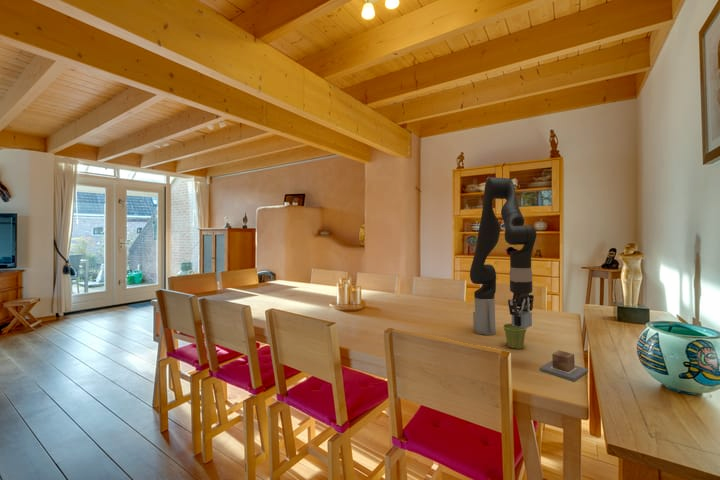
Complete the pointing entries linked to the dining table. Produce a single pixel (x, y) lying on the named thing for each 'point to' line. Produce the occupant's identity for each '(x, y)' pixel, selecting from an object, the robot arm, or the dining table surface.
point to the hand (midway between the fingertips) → (521, 324)
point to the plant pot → (514, 336)
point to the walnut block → (563, 361)
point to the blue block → (524, 319)
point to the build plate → (571, 375)
